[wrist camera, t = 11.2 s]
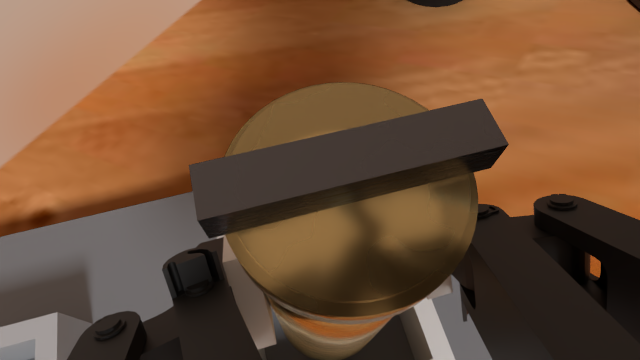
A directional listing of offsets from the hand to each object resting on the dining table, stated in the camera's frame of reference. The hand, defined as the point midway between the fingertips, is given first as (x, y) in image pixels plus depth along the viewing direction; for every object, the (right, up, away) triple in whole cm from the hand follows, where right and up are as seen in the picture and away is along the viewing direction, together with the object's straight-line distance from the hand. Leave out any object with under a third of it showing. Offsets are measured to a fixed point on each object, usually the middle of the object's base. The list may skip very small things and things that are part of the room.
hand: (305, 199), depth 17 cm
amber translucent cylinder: (+1, -5, +1) cm, 5 cm away
